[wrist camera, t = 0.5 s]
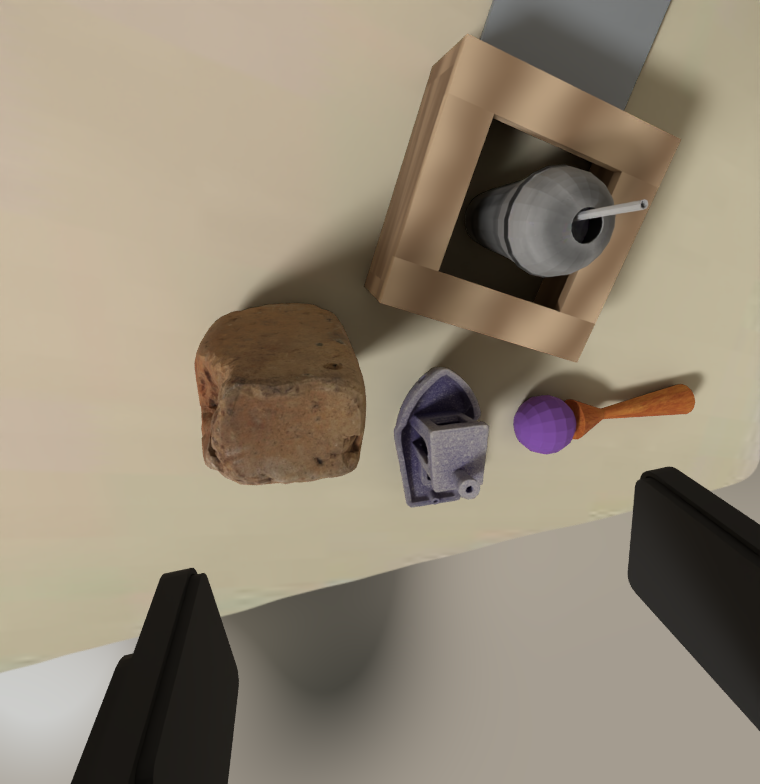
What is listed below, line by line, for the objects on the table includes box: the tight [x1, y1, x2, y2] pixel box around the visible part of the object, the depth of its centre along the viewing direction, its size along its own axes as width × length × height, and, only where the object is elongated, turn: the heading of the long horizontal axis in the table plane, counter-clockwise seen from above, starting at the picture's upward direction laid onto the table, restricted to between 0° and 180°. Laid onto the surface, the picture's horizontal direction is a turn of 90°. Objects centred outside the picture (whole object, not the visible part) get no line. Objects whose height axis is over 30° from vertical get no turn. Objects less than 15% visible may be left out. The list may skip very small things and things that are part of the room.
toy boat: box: [394, 367, 489, 507], centre depth 44 cm, size 15×8×13 cm, turn 2°
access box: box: [364, 34, 681, 362], centre depth 40 cm, size 18×18×8 cm
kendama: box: [513, 384, 695, 454], centre depth 51 cm, size 6×6×20 cm
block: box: [195, 303, 366, 485], centre depth 35 cm, size 11×8×20 cm
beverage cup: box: [465, 164, 648, 278], centre depth 34 cm, size 7×7×20 cm
